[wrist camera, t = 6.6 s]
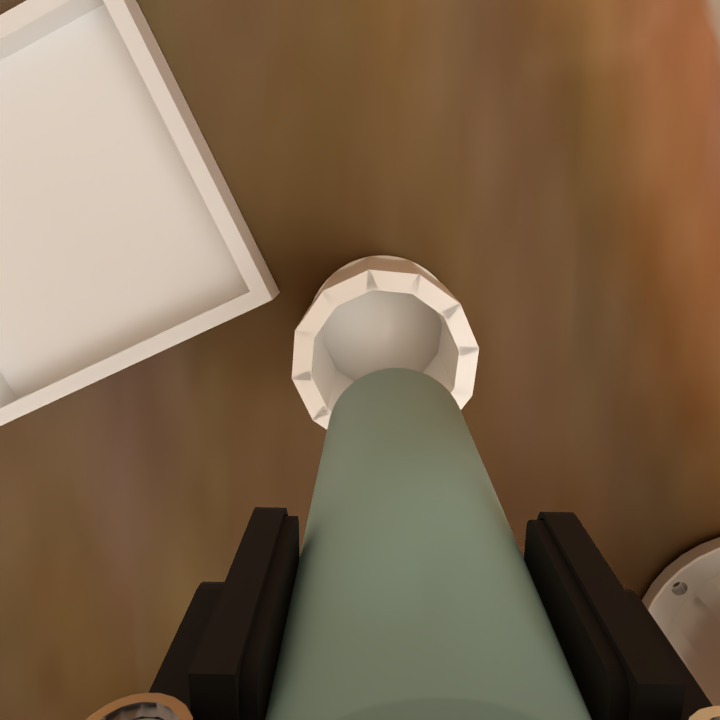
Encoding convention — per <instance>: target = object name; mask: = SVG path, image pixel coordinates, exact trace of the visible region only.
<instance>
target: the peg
mask: <svg viewBox="0 0 720 720" xmlns="http://www.w3.org/2000/svg"><path fill="white" fill-rule="evenodd" d="M265 720H592V719H591V716H590V714H589V712H588V709H587V707H586V704H585V702H584V700H583V697H582V695H581V693H580V690H579V688H578V686H577V683H576V681H575V679H574V676H573V674H572V671H571V669H570V667H569V664H568V662H567V660H566V657H565V655H564V653H563V650H562V648H561V646H560V643H559V641H558V639H557V636H556V634H555V631H554V629H553V627H552V624H551V622H550V620H549V617H548V615H547V613H546V610H545V608H544V606H543V603H542V601H541V599H540V596H539V594H538V591H537V589H536V587H535V584H534V582H533V580H532V577H531V575H530V573H529V570H528V568H527V566H526V563H525V561H524V559H523V556H522V554H521V551H520V549H519V547H518V544H517V542H516V540H515V537H514V535H513V533H512V530H511V528H510V526H509V523H508V521H507V518H506V516H505V514H504V511H503V509H502V507H501V504H500V502H499V500H498V497H497V495H496V493H495V490H494V488H493V486H492V483H491V481H490V478H489V476H488V474H487V471H486V469H485V467H484V464H483V462H482V460H481V457H480V455H479V453H478V450H477V448H476V446H475V443H474V441H473V438H472V436H471V434H470V431H469V429H468V427H467V424H466V422H465V420H464V417H463V415H462V413H461V410H460V408H459V406H458V404H457V402H456V400H455V399H454V397H453V396H452V394H451V393H450V392H449V391H448V390H447V389H446V388H445V387H444V386H443V385H442V384H441V383H440V382H438V381H437V380H435V379H434V378H432V377H430V376H429V375H426V374H424V373H422V372H419V371H415V370H411V369H405V368H388V369H382V370H378V371H374V372H372V373H369V374H367V375H365V376H363V377H361V378H359V379H358V380H356V381H355V382H353V383H352V384H351V385H350V386H349V387H347V388H346V389H345V391H344V392H343V393H342V394H341V395H340V397H339V398H338V400H337V401H336V403H335V405H334V407H333V410H332V412H331V415H330V419H329V423H328V428H327V433H326V437H325V442H324V446H323V451H322V456H321V460H320V465H319V470H318V474H317V479H316V483H315V488H314V493H313V497H312V502H311V507H310V511H309V516H308V520H307V525H306V530H305V534H304V539H303V544H302V548H301V553H300V557H299V564H298V569H297V573H296V578H295V582H294V587H293V592H292V596H291V601H290V606H289V610H288V615H287V620H286V624H285V629H284V634H283V638H282V643H281V648H280V652H279V657H278V662H277V666H276V671H275V676H274V680H273V685H272V689H271V694H270V699H269V703H268V708H267V713H266V717H265Z"/></svg>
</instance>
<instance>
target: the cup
mask: <svg viewBox="0 0 720 720" xmlns="http://www.w3.org/2000/svg"><path fill="white" fill-rule="evenodd" d="M478 353H479V347H478V345H477V342H476V340H475V337H474V335H473V333H472V330H471V328H470V326H469V323H468V321H467V319H466V316H465V314H464V311H463V309H462V307H461V304H460V303H459V301H458V300H457V299H456V298H455V297H454V296H453V295H452V294H451V293H450V292H449V290H448V289H447V288H446V287H445V286H444V285H443V284H442V283H440V282H439V281H438V280H437V279H436V277H435V276H434V275H433V274H431V273H430V272H429V271H428V270H427V269H425V268H423V267H422V266H420V265H419V264H417V263H415V262H412V261H411V260H408V259H404V258H401V257H396V256H390V255H376V256H368V257H364V258H360V259H357V260H355V261H352V262H350V263H348V264H346V265H344V266H343V267H341V268H340V269H338V270H337V271H336V272H334V273H333V274H332V275H331V276H330V277H329V278H328V279H327V280H326V281H325V282H324V284H323V285H322V286H321V288H320V289H319V291H318V293H317V294H316V296H315V298H314V300H313V302H312V304H311V305H310V307H309V308H308V310H307V312H306V313H305V315H304V316H303V318H302V320H301V321H300V323H299V325H298V326H297V328H296V329H295V338H294V353H293V368H292V380H293V382H294V384H295V386H296V388H297V390H298V392H299V394H300V396H301V398H302V400H303V402H304V404H305V406H306V408H307V410H308V412H309V414H310V416H311V418H312V420H313V421H315V422H316V423H318V424H319V425H321V426H322V427H324V428H325V429H327V428H328V423H329V419H330V415H331V412H332V410H333V407H334V405H335V403H336V401H337V400H338V398H339V397H340V395H341V394H342V393H343V392H344V391H345V389H346V388H347V387H349V386H350V385H351V384H352V383H353V382H355V381H356V380H358V379H359V378H361V377H363V376H365V375H367V374H369V373H372V372H374V371H378V370H382V369H388V368H405V369H411V370H415V371H419V372H422V373H424V374H426V375H429V376H430V377H432V378H434V379H435V380H437V381H438V382H440V383H441V384H442V385H443V386H444V387H445V388H446V389H447V390H448V391H449V392H450V393H451V394H452V396H453V397H454V399H455V400H456V402H457V404H458V406H459V408H460V410H461V409H462V408H463V407H464V405H465V404H466V403H467V402H468V400H469V399H470V398H471V397H472V395H473V387H474V380H475V374H476V367H477V360H478Z"/></svg>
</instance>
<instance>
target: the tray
mask: <svg viewBox="0 0 720 720" xmlns="http://www.w3.org/2000/svg"><path fill="white" fill-rule="evenodd" d="M279 293H280V291H279V289H278V287H277V285H276V283H275V281H274V279H273V277H272V275H271V273H270V271H269V269H268V267H267V265H266V263H265V261H264V259H263V257H262V255H261V253H260V251H259V249H258V247H257V245H256V243H255V240H254V238H253V236H252V234H251V232H250V230H249V228H248V226H247V224H246V222H245V220H244V218H243V216H242V214H241V212H240V210H239V208H238V206H237V204H236V202H235V200H234V198H233V196H232V194H231V192H230V190H229V188H228V186H227V184H226V182H225V180H224V178H223V176H222V173H221V171H220V169H219V167H218V165H217V163H216V161H215V159H214V157H213V155H212V153H211V151H210V149H209V147H208V145H207V143H206V141H205V139H204V137H203V135H202V133H201V131H200V129H199V127H198V125H197V123H196V121H195V119H194V117H193V115H192V113H191V111H190V109H189V107H188V104H187V102H186V100H185V98H184V96H183V94H182V92H181V90H180V88H179V86H178V84H177V82H176V80H175V78H174V76H173V74H172V72H171V70H170V68H169V66H168V64H167V62H166V60H165V58H164V56H163V54H162V52H161V50H160V48H159V46H158V44H157V42H156V40H155V37H154V35H153V33H152V31H151V29H150V27H149V25H148V23H147V21H146V19H145V17H144V15H143V13H142V11H141V9H140V7H139V5H138V3H137V1H136V0H26V1H25V2H23V3H21V4H19V5H17V6H16V7H14V8H12V9H10V10H8V11H7V12H5V13H3V14H1V15H0V426H1V425H3V424H5V423H8V422H10V421H12V420H14V419H16V418H18V417H21V416H23V415H25V414H27V413H29V412H31V411H34V410H36V409H38V408H40V407H42V406H44V405H47V404H49V403H51V402H53V401H55V400H57V399H59V398H62V397H64V396H66V395H68V394H70V393H72V392H75V391H77V390H79V389H81V388H83V387H85V386H88V385H90V384H92V383H94V382H96V381H98V380H101V379H103V378H105V377H107V376H109V375H111V374H113V373H116V372H118V371H120V370H122V369H124V368H126V367H129V366H131V365H133V364H135V363H137V362H139V361H142V360H144V359H146V358H148V357H150V356H152V355H154V354H157V353H159V352H161V351H163V350H165V349H167V348H170V347H172V346H174V345H176V344H178V343H180V342H183V341H185V340H187V339H189V338H191V337H193V336H196V335H198V334H200V333H202V332H204V331H206V330H208V329H211V328H213V327H215V326H217V325H219V324H221V323H224V322H226V321H228V320H230V319H232V318H234V317H237V316H239V315H241V314H243V313H245V312H247V311H250V310H252V309H254V308H256V307H258V306H260V305H262V304H265V303H267V302H269V301H271V300H273V299H274V298H275V297H276V296H277V295H278V294H279Z"/></svg>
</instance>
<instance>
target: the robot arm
mask: <svg viewBox="0 0 720 720" xmlns="http://www.w3.org/2000/svg"><path fill="white" fill-rule="evenodd" d="M524 561H525V563H526V566H527V568H528V570H529V573H530V575H531V577H532V580H533V582H534V584H535V587H536V589H537V591H538V594H539V596H540V599H541V601H542V603H543V606H544V608H545V610H546V613H547V615H548V617H549V620H550V622H551V624H552V627H553V629H554V631H555V634H556V636H557V639H558V641H559V643H560V646H561V648H562V650H563V653H564V655H565V657H566V660H567V662H568V664H569V667H570V669H571V671H572V674H573V676H574V679H575V681H576V683H577V686H578V688H579V690H580V693H581V695H582V697H583V700H584V702H585V704H586V707H587V709H588V712H589V714H590V716H591V719H592V720H720V537H719V538H716V539H713V540H710V541H708V542H705V543H702V544H700V545H698V546H697V547H695V548H693V549H691V550H690V551H688V552H686V553H684V554H682V555H681V556H680V557H679V558H677V559H676V560H675V561H674V562H672V563H671V564H670V565H669V566H667V567H666V568H665V569H664V570H663V571H662V572H661V574H660V575H659V576H658V577H657V578H656V579H655V580H654V582H653V583H652V584H651V586H650V587H649V589H648V591H647V592H646V594H645V596H644V597H643V599H642V601H641V599H640V598H639V596H638V595H637V594H636V593H635V592H634V591H631V590H624V588H623V587H622V585H621V584H620V582H619V581H618V579H617V578H616V576H615V575H614V573H613V572H612V570H611V569H610V567H609V565H608V564H607V562H606V561H605V559H604V558H603V556H602V555H601V553H600V552H599V550H598V549H597V547H596V546H595V544H594V542H593V541H592V539H591V538H590V536H589V535H588V533H587V532H586V530H585V529H584V527H583V526H582V524H581V523H580V521H579V520H578V518H577V516H576V515H575V514H574V513H571V512H540V513H539V515H538V518H537V520H529V521H528V523H527V529H526V540H525V553H524ZM298 564H299V521H298V516H288V513H287V509H286V508H266V507H255V509H254V511H253V513H252V516H251V518H250V521H249V523H248V526H247V528H246V531H245V533H244V535H243V538H242V540H241V543H240V545H239V548H238V550H237V553H236V555H235V558H234V560H233V563H232V565H231V568H230V570H229V573H228V575H227V578H226V580H225V582H202V583H200V585H199V587H198V588H197V590H196V592H195V594H194V597H193V599H192V601H191V603H190V605H189V607H188V609H187V612H186V614H185V616H184V618H183V620H182V622H181V624H180V627H179V629H178V631H177V633H176V635H175V637H174V639H173V642H172V644H171V646H170V648H169V650H168V652H167V654H166V657H165V659H164V661H163V663H162V665H161V667H160V669H159V672H158V674H157V676H156V678H155V680H154V682H153V684H152V687H151V689H150V691H149V693H139V694H135V695H131V696H126V697H123V698H120V699H118V700H116V701H114V702H111V703H109V704H107V705H105V706H103V707H102V708H101V709H99V710H98V711H96V712H95V713H94V714H92V715H91V716H89V717H88V718H87V719H86V720H265V717H266V713H267V708H268V703H269V699H270V694H271V689H272V685H273V680H274V676H275V671H276V666H277V662H278V657H279V652H280V648H281V643H282V638H283V634H284V629H285V624H286V620H287V615H288V610H289V606H290V601H291V596H292V592H293V587H294V582H295V578H296V573H297V569H298Z"/></svg>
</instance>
